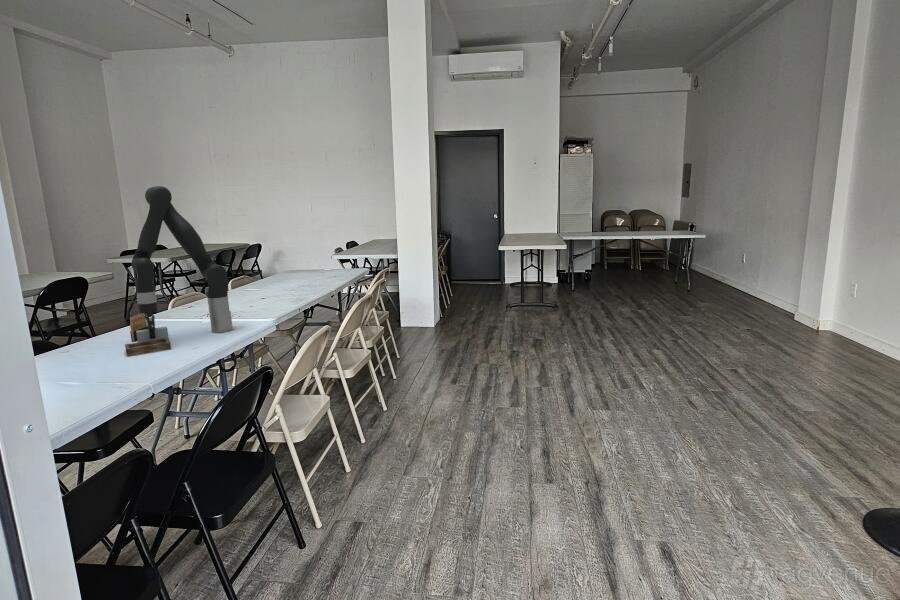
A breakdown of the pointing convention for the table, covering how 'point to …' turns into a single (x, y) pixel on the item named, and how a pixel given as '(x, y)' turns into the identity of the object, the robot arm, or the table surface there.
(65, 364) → the table surface
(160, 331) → the long grey rectangular block
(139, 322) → the ammunition clip
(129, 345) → the cradle jig
